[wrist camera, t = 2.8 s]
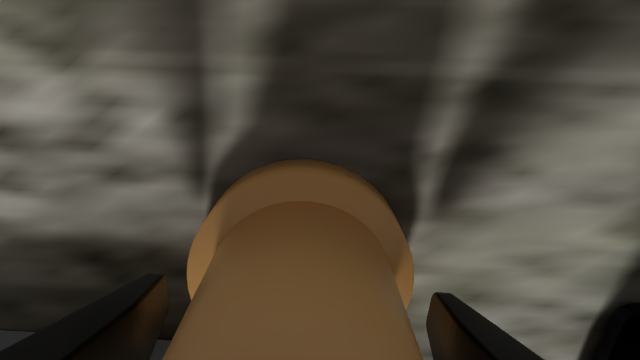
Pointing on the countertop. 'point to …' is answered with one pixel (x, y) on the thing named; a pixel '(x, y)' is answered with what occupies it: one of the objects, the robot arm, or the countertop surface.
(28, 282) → the countertop surface
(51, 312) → the countertop surface
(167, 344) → the gray divided tray
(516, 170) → the countertop surface
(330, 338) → the tan pear-shaped knob
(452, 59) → the countertop surface
